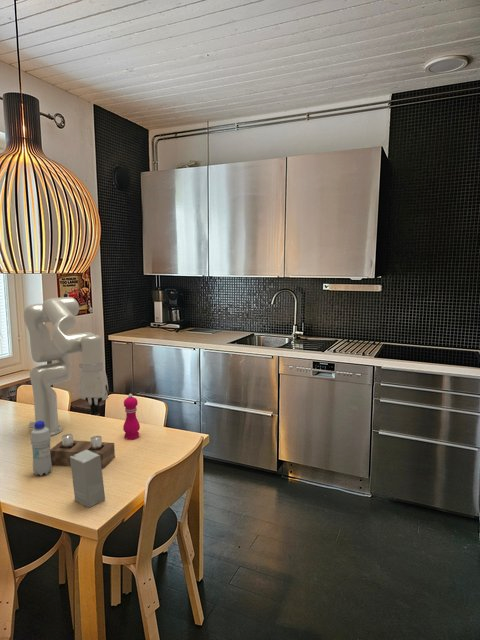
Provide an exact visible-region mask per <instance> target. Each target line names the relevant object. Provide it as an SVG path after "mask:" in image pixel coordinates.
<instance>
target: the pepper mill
mask: <svg viewBox="0 0 480 640" xmlns="http://www.w3.org/2000/svg"><path fill="white" fill-rule="evenodd" d="M123 406H124V407H125V408H124V410H125V411H124V412H125V413H126V414H125V416H126V418H125V421H124V423H123V428H122V430H123V432H124V439H126V440H130V441H131V440H137V439H138V438H139V437H140V433H139V431H140V428H141V424H140V423H139V420H138V418H137V414H136V413H137V406H138V400H137V398H136V397H134V396H133V394H132V393H129V394H128V397H126V398H125V399H124V401H123Z"/></svg>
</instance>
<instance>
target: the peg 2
mask: <svg viewBox="0 0 480 640" xmlns="http://www.w3.org/2000/svg"><path fill="white" fill-rule="evenodd" d="M102 439H103V438H102V436H101V435H94V436H91V437H90V441H91V450H97V451H100V450H101V449H102V442H103V440H102Z"/></svg>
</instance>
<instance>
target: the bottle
mask: <svg viewBox="0 0 480 640" xmlns="http://www.w3.org/2000/svg"><path fill="white" fill-rule="evenodd" d="M34 426H35V429H34V428H32V430H31V431H30V444H31V449H32V470H33V473H34V475H35V476H37V475H38V476H40V477H42V476H43V474H44V475H46V474H47V475H49V473H51V471H52V468H53V467H52V466H53V465H52V463H51V455H50V449H51V437H52V436H50V432H49V428H47V427H45V423H44V422H43V421H38V422H36V423H35V425H34ZM48 472H49V473H48Z"/></svg>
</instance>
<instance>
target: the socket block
mask: <svg viewBox="0 0 480 640" xmlns="http://www.w3.org/2000/svg"><path fill="white" fill-rule="evenodd" d="M85 450H89V451H91V452H94V453H96V454H98V455H100V459H101V467H102V470H105V468H106V467H107V466H108V465H109V464H110V463H111V462H112V461H113V460H114V459H115V457H116V455H115V454H116V453H115V452H116V451H115V450H116V449H115V442H107V441H102V449H101V450H100V451H97V450H91V440H90V441H89V440H88V441H87V440H74V439H73V447H72V448H71V449H66V448H63V447H62V440H61V441H59V442H58V443H57V444H56V445H54V446H53V447H50V455H51V463H52V466H54V465H56V467H57V466H59V467H69V468H71V463H70V456H73V455H75V454H78V453H80V452H82V451H85Z"/></svg>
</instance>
